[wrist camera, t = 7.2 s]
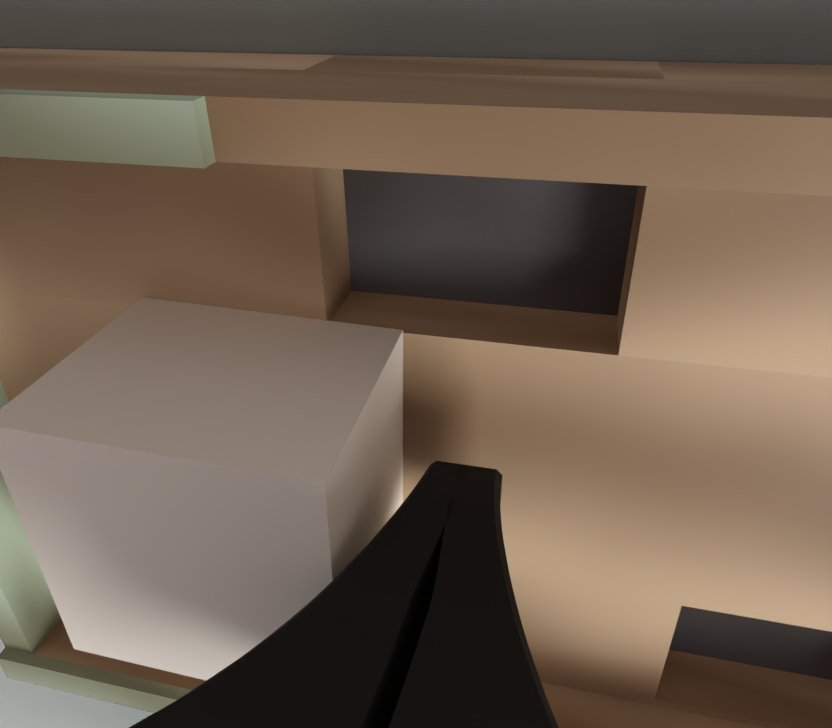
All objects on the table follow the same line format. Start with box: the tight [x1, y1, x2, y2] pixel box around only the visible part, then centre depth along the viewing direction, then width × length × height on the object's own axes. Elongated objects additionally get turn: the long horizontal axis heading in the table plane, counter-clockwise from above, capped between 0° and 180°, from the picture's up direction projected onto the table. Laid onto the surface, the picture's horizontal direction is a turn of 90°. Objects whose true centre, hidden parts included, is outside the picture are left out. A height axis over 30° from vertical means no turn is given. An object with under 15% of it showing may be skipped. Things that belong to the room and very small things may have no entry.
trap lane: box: [0, 48, 832, 728], centre depth 12 cm, size 14×29×4 cm, turn 91°
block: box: [0, 297, 403, 680], centre depth 12 cm, size 5×5×4 cm
